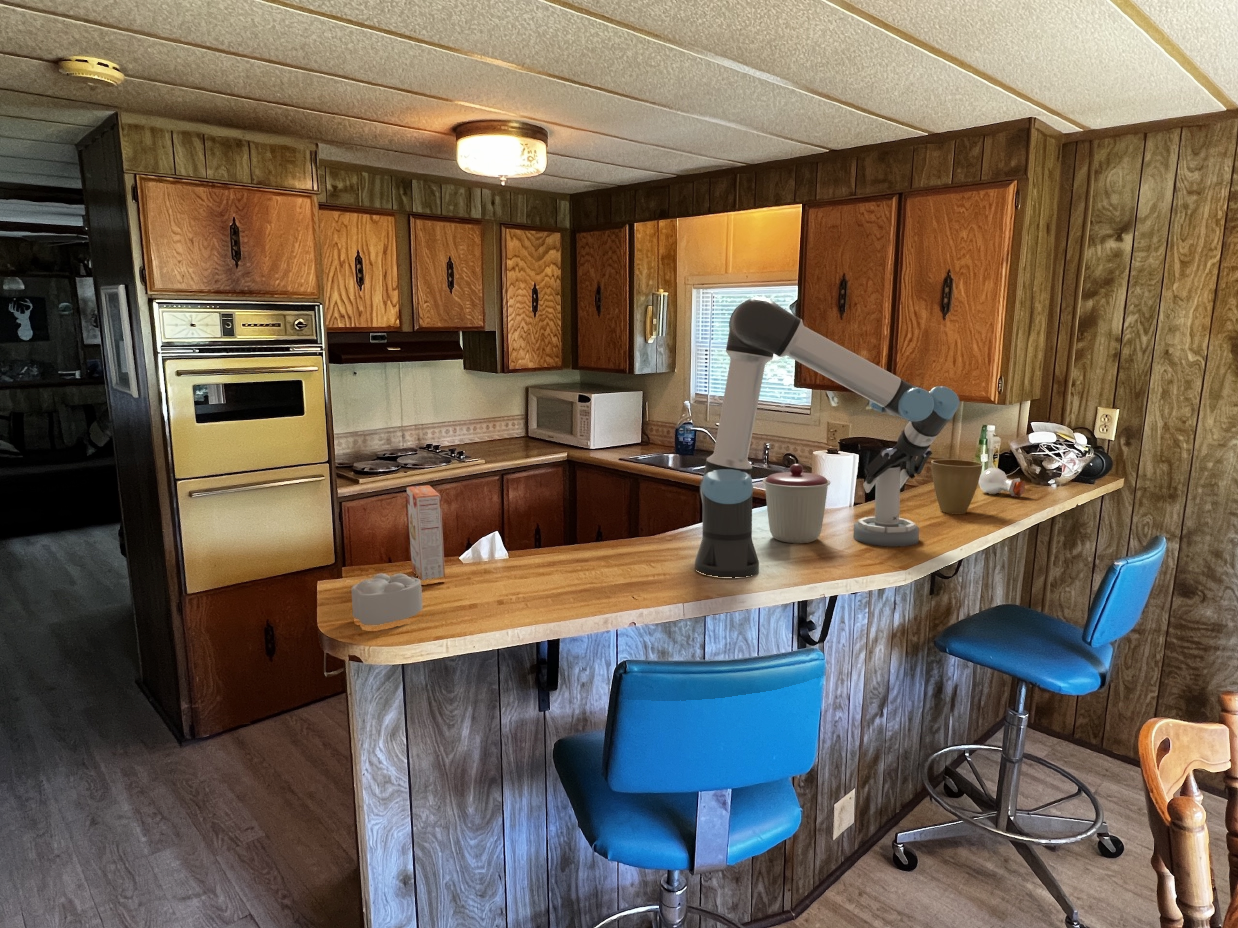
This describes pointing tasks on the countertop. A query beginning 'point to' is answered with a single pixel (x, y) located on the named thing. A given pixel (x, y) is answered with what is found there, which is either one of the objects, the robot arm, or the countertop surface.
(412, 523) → the cracker box
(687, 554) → the countertop surface
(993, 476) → the potion bottle
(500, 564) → the countertop surface
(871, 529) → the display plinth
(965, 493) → the plant pot
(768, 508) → the canister
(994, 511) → the countertop surface
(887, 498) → the travel mug
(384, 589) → the lumpy-topped squat cylinder
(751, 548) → the robot arm
